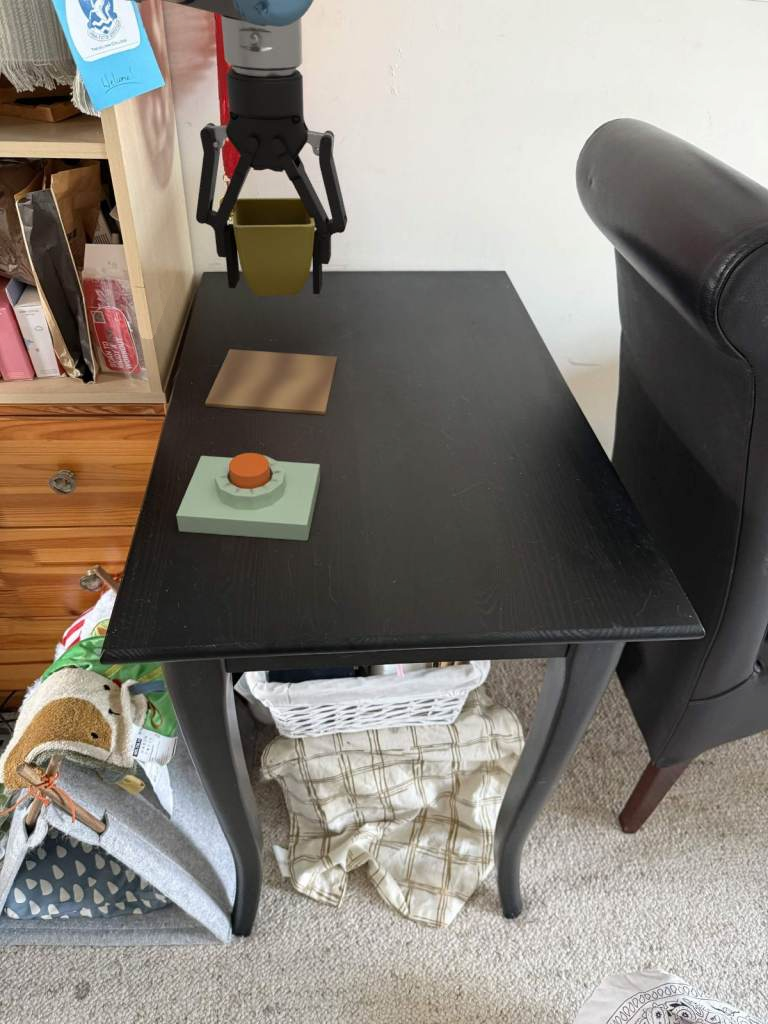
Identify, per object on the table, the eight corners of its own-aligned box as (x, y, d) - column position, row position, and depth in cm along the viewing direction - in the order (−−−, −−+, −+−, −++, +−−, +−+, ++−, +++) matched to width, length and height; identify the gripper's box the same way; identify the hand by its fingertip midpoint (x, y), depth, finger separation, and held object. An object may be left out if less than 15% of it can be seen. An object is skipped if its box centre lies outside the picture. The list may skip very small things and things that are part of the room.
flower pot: (317, 303, 84) (315, 224, 78) (240, 305, 83) (233, 225, 77) (309, 272, 91) (307, 197, 85) (238, 274, 89) (231, 198, 83)
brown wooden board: (205, 406, 91) (204, 403, 90) (229, 352, 101) (229, 349, 101) (325, 414, 90) (325, 411, 90) (337, 359, 101) (337, 356, 101)
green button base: (178, 531, 73) (173, 501, 71) (203, 471, 81) (199, 441, 78) (307, 541, 73) (306, 510, 70) (320, 479, 81) (319, 450, 78)
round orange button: (226, 488, 73) (224, 474, 72) (235, 464, 76) (233, 451, 75) (266, 491, 73) (265, 477, 72) (273, 467, 76) (272, 453, 75)
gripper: (142, 68, 69) (175, 293, 84) (372, 83, 69) (365, 306, 84) (165, 54, 75) (192, 267, 90) (377, 68, 75) (370, 279, 89)
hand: (276, 286), depth 87 cm, fingers closed on flower pot, 9 cm apart
